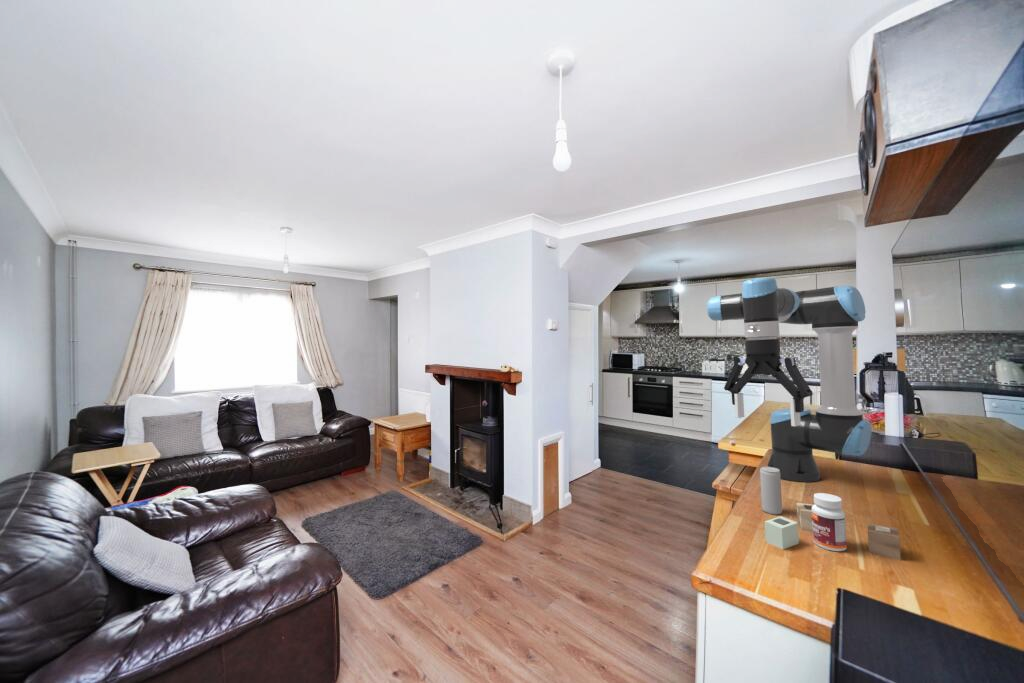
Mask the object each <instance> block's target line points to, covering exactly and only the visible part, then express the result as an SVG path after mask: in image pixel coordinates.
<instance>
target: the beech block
mask: <svg viewBox="0 0 1024 683" xmlns="http://www.w3.org/2000/svg"><path fill="white" fill-rule="evenodd" d="M813 505H814V504H811V503H810V504H809V503H801V502H796V516H797V517H796V518H797V520H796V521H797V523H798V526H799V528H800V530H802V531H808V532H809V531H810V532H813V531H812V506H813Z"/></svg>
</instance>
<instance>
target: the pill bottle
mask: <svg viewBox="0 0 1024 683" xmlns="http://www.w3.org/2000/svg"><path fill="white" fill-rule="evenodd" d="M813 503H814V504H812V505H813V506H812V531H811V532H812V541H813V543H814V544H815V545H816V546H818V547H820V548H822V549H824V550H828V551H833V552H844V551H845V550H847V546H848V545H847V543H848V542H847V526H846V514H845V511H844V509H842V508H843V500H842V498H841V497H839V496H838V495H835V494H832V493H831V494H830V493H824V492H817V493H816V492H815V493H814V494H813Z"/></svg>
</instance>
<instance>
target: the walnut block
mask: <svg viewBox="0 0 1024 683" xmlns="http://www.w3.org/2000/svg"><path fill="white" fill-rule="evenodd" d="M867 540H868V541H867V542H868V552H869V554H872V555H878V556H880V557H881V556H882V557H884V558H885V557H886V558H890V559H894V560H897V561H901V559H902V558H901V544H900V541H901V539H900V534H899V530H898V528H897V527H896V528H895V527H890V526H887V525H882V524H881V525H880V524H876V523H872V522H867Z"/></svg>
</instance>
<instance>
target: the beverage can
mask: <svg viewBox="0 0 1024 683" xmlns="http://www.w3.org/2000/svg"><path fill="white" fill-rule="evenodd" d="M779 471H780V470H779V469H777V468H773V467H767V466H761V467H760V469H759V478H760V495H761V496H760V497H761V509H762V511H763V512H764V513H766V514H769V515H774V516H778V515H779V516H780V515H781V514H782V513H783V500H782V499H783V498H782V480H781V477H780V472H779Z"/></svg>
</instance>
